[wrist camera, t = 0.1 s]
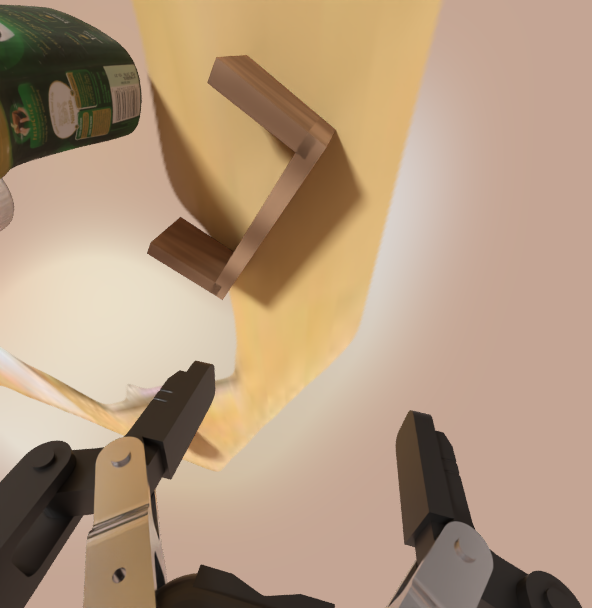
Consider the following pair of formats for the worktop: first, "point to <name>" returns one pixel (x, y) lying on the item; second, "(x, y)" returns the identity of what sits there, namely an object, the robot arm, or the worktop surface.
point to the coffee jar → (60, 85)
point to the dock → (309, 147)
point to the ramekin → (5, 205)
